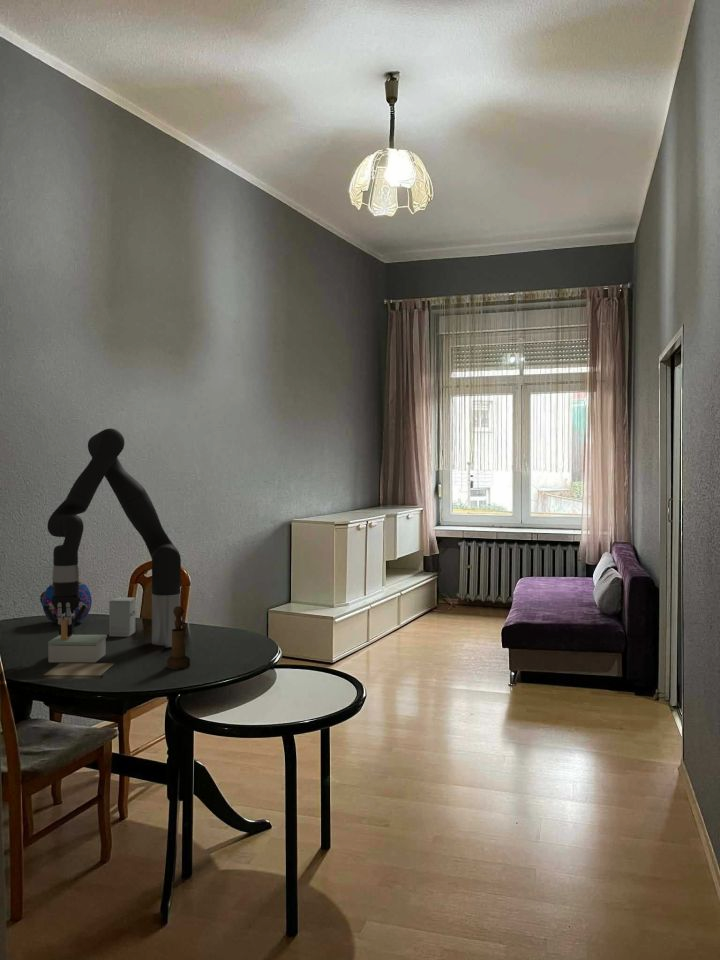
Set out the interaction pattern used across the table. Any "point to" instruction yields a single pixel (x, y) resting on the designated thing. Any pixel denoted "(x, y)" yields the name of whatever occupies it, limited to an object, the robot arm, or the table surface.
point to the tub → (76, 652)
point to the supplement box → (122, 617)
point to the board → (78, 670)
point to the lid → (75, 637)
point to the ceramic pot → (85, 598)
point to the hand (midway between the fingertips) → (66, 636)
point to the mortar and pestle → (178, 643)
